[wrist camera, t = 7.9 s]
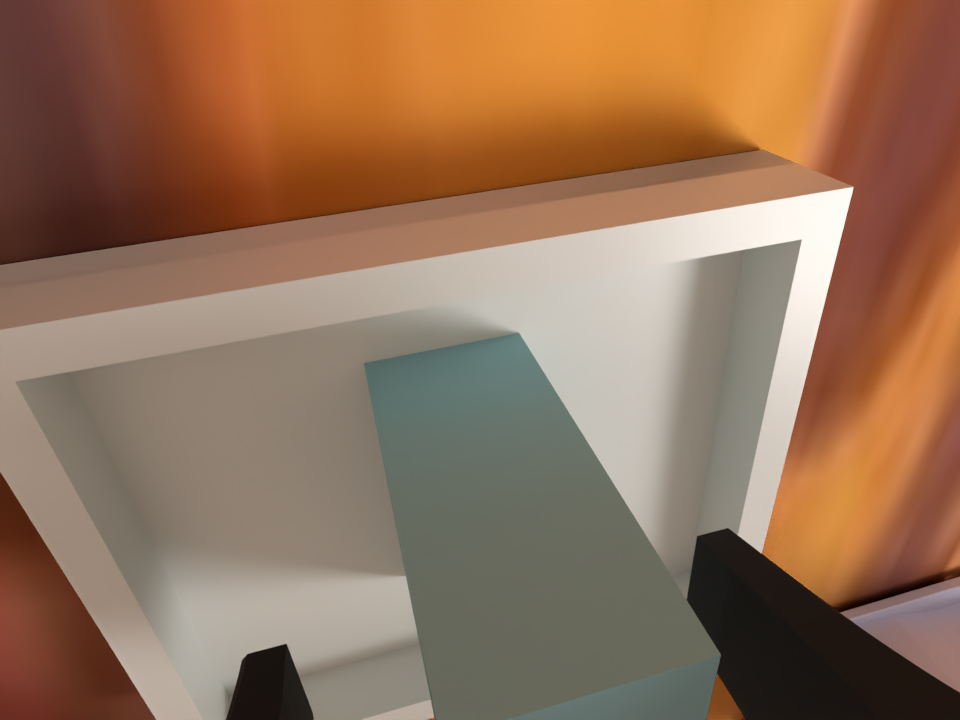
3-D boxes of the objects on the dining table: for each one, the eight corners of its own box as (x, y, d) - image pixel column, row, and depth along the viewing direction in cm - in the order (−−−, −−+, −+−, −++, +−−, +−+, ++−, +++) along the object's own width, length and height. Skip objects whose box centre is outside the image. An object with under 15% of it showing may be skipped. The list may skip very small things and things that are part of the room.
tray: (762, 149, 13) (853, 186, 11) (694, 555, 20) (743, 626, 17) (-11, 266, 10) (-81, 343, 8) (208, 686, 17) (198, 787, 15)
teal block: (527, 545, 16) (668, 883, 10) (405, 576, 15) (481, 951, 10) (519, 332, 13) (720, 654, 7) (363, 362, 12) (441, 739, 6)
